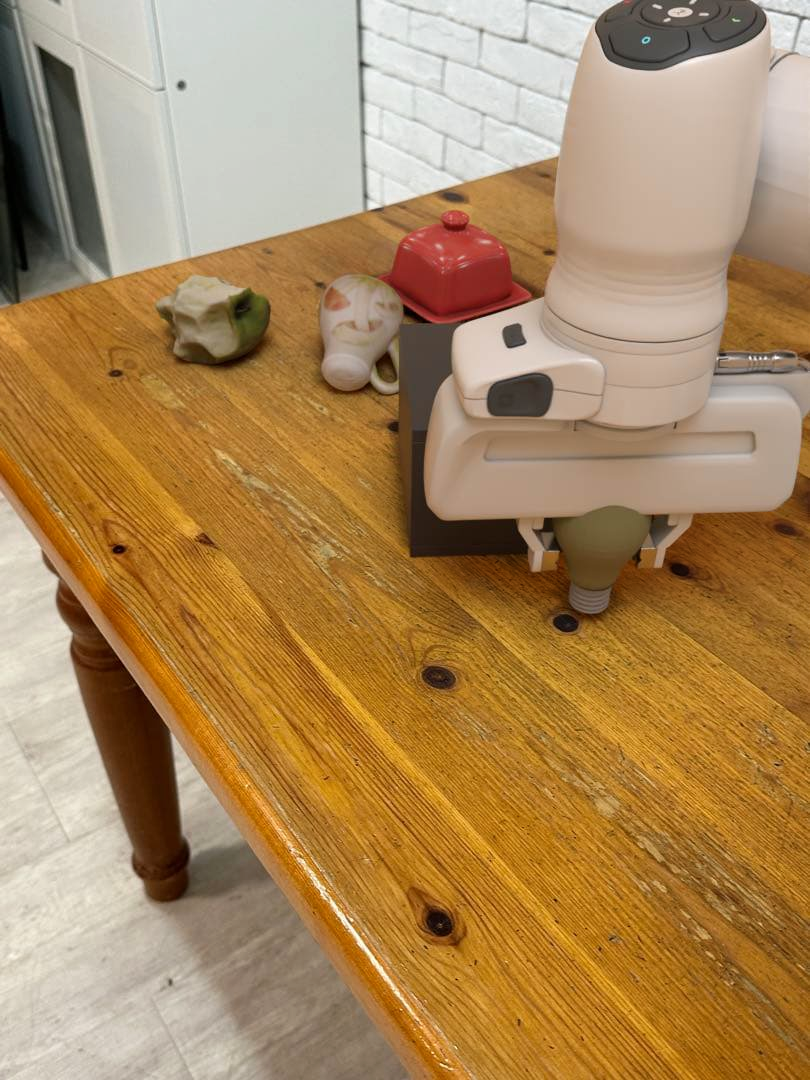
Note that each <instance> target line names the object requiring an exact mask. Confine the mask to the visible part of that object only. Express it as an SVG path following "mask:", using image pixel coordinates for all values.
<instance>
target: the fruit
mask: <svg viewBox="0 0 810 1080" xmlns="http://www.w3.org/2000/svg"><path fill="white" fill-rule="evenodd" d="M173 291H174V292H173V293H172V294H171V295H166V296H163V297H161V298H160V299H159V300H158V301H155V306H154V307H155V310H156V311H157V313H158V315H159V317H160V319H163V320H165V321H166V322H167V323H168V324H169V327H170V331H171V333H172V335H173V336H174V337H175V341H174V345H173V349H172V355H174V356H176V357H177V358H179V359H181V360H184V361H186V362H190V363H192V364H193V363H194V364H199V365H200V364H201V365H218V364H222V363H225V362H228V361H231V360H235V359H237V358H240V357H242V356H244V355H246V354H248V353H249V352H251V351H252V350H254V349H255V347H256V346H257V345H258V344H259V343H261V341H262V340H263V338H264V336H265V333H266V332H267V330H268V327H269V325H270V319H271V313H272V306H271V303H270V301H269V299H268V297H266V296H265V294H262V293H256V292H255V291H252V287H251V286H249V285H246V287H238V286H235V285H232V284H231V283H230V282H229V281H227V280H224V279H219V278H218V277H217V276H211V277H207V276H203V275H201V274H194V275H193V274H192V275H189V276H188V277H187V278H186V280H185V281H184V282H183V283H179V284H178V285H177V286H176V288H175V289H174V290H173Z"/></svg>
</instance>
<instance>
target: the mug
mask: <svg viewBox="0 0 810 1080" xmlns="http://www.w3.org/2000/svg"><path fill="white" fill-rule="evenodd" d="M404 312H405V311H404V304H403V303H402V301H401V299H400V297H399V296H398V294H397V293H396V292H395V291H394V290H393V289H392V288H391V287H390V286H389V285H387V284H386V283H384V282H383V281H381V280H379V279H377V277H373V276H371V275H366V274H354V273H353V274H345V275H341V276H339V277H338V278H336V279H334V280H332V281H331V282H330V284H329V285H327V287H326V288H325V290H324V291H323V294H322V295H321V298H320V301H319V304H318V308H317V322H318V329H319V332H320V336H321V340H322V343H323V346H324V354H323V358H322V362H321V365H320V370H321V374H322V377H323V378H324V380H325V381H326V382H327V383H328V384H329V385H330V386H331V387H333V388H335V389H337V390H339V391H343V392H352V391H357V390H360V389H362V388H363V387H365V386H366V385H367V384H368V383H370V384H371V385H372V387H373V388H374V389H376V391H378V393H380V394H382V395H393V394H397V393H399V324H404V317H405V315H404V314H405V313H404ZM386 353H388V355H389V357H390V359H391V362H392V364H393V367H394V370H395V374H396V381H395V382H392V383H390V382H386V381H384V380H382V378H380V376H379V373H378V369H377V366H376V363H377V362H378V361H379V360H380V359H382V357H383V356H384V355H385V354H386Z"/></svg>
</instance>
